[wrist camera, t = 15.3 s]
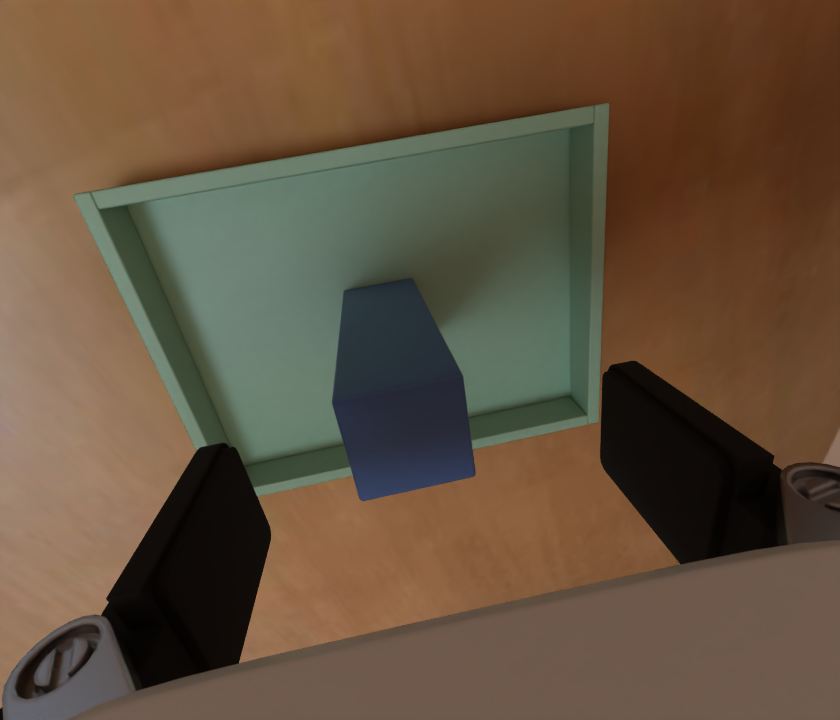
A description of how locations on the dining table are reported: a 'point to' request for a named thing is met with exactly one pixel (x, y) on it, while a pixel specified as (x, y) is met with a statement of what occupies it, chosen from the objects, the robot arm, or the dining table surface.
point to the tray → (369, 280)
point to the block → (398, 394)
